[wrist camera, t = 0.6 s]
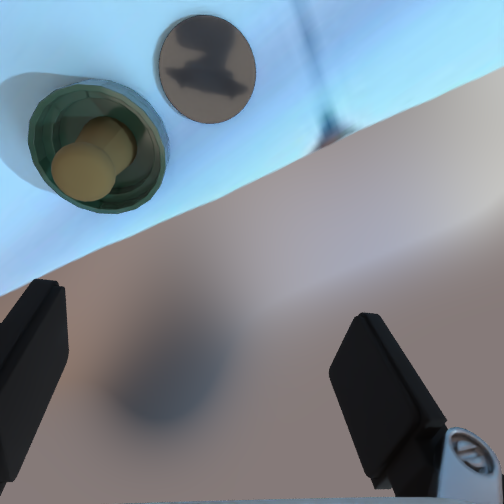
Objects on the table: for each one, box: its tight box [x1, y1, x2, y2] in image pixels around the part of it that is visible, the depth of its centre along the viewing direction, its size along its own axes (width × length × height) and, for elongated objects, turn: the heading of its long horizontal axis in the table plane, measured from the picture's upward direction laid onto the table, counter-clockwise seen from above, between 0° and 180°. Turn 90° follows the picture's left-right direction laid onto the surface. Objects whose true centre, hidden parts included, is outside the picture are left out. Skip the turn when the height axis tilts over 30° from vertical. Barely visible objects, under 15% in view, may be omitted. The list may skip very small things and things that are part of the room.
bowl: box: [28, 79, 169, 214], centre depth 37 cm, size 13×13×4 cm
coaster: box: [159, 15, 256, 124], centre depth 36 cm, size 10×10×1 cm
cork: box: [51, 117, 137, 202], centre depth 34 cm, size 6×6×11 cm
